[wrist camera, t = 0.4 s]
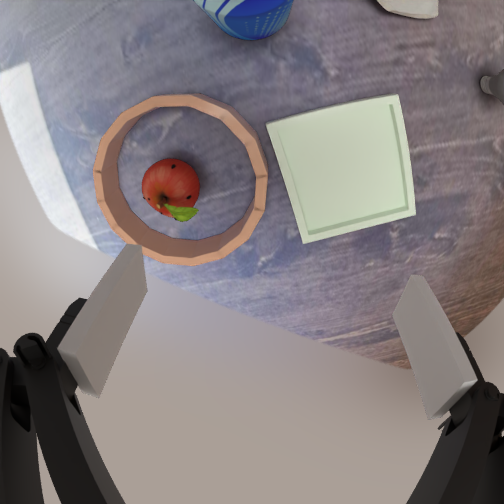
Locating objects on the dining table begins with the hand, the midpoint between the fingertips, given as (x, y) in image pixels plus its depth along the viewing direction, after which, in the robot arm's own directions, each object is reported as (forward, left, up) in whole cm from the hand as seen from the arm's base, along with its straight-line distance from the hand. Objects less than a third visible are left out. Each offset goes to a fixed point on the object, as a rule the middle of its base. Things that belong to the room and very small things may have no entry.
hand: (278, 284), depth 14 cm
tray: (+4, +8, -25) cm, 26 cm away
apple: (-1, -12, -25) cm, 27 cm away
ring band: (-1, -12, -25) cm, 27 cm away
